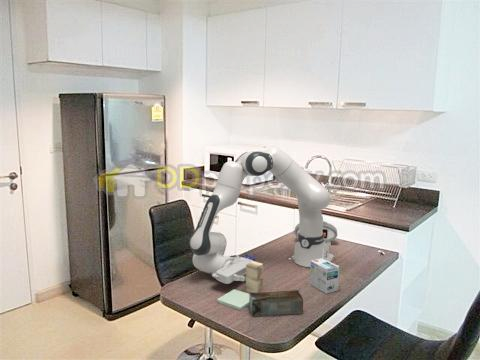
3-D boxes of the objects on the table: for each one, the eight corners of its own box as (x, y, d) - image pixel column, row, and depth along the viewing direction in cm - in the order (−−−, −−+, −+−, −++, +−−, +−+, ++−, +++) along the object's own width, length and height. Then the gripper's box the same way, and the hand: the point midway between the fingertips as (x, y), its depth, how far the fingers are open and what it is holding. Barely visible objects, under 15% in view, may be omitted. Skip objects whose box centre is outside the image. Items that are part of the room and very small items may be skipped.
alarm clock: (293, 243, 223) (294, 220, 220) (294, 239, 229) (295, 217, 226) (336, 246, 218) (338, 223, 216) (336, 242, 224) (337, 220, 222)
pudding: (265, 265, 191) (265, 255, 190) (252, 274, 181) (252, 263, 180) (244, 260, 198) (244, 250, 197) (230, 268, 188) (230, 257, 187)
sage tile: (234, 291, 163) (234, 289, 163) (256, 299, 157) (257, 296, 157) (217, 302, 154) (217, 299, 154) (240, 310, 148) (240, 307, 148)
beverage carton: (248, 306, 151) (248, 290, 150) (298, 304, 154) (299, 288, 153) (251, 317, 144) (251, 300, 142) (304, 315, 146) (304, 297, 145)
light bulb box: (338, 290, 165) (340, 265, 163) (326, 294, 162) (327, 269, 160) (321, 281, 174) (322, 257, 172) (309, 284, 171) (310, 260, 169)
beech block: (252, 286, 169) (252, 261, 167) (262, 289, 166) (263, 263, 164) (245, 290, 164) (246, 264, 163) (256, 293, 162) (256, 267, 160)
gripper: (209, 268, 164) (236, 276, 156) (238, 253, 180) (264, 260, 172) (209, 282, 165) (236, 291, 157) (238, 266, 181) (264, 274, 174)
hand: (251, 275), depth 165 cm, fingers open, 8 cm apart
